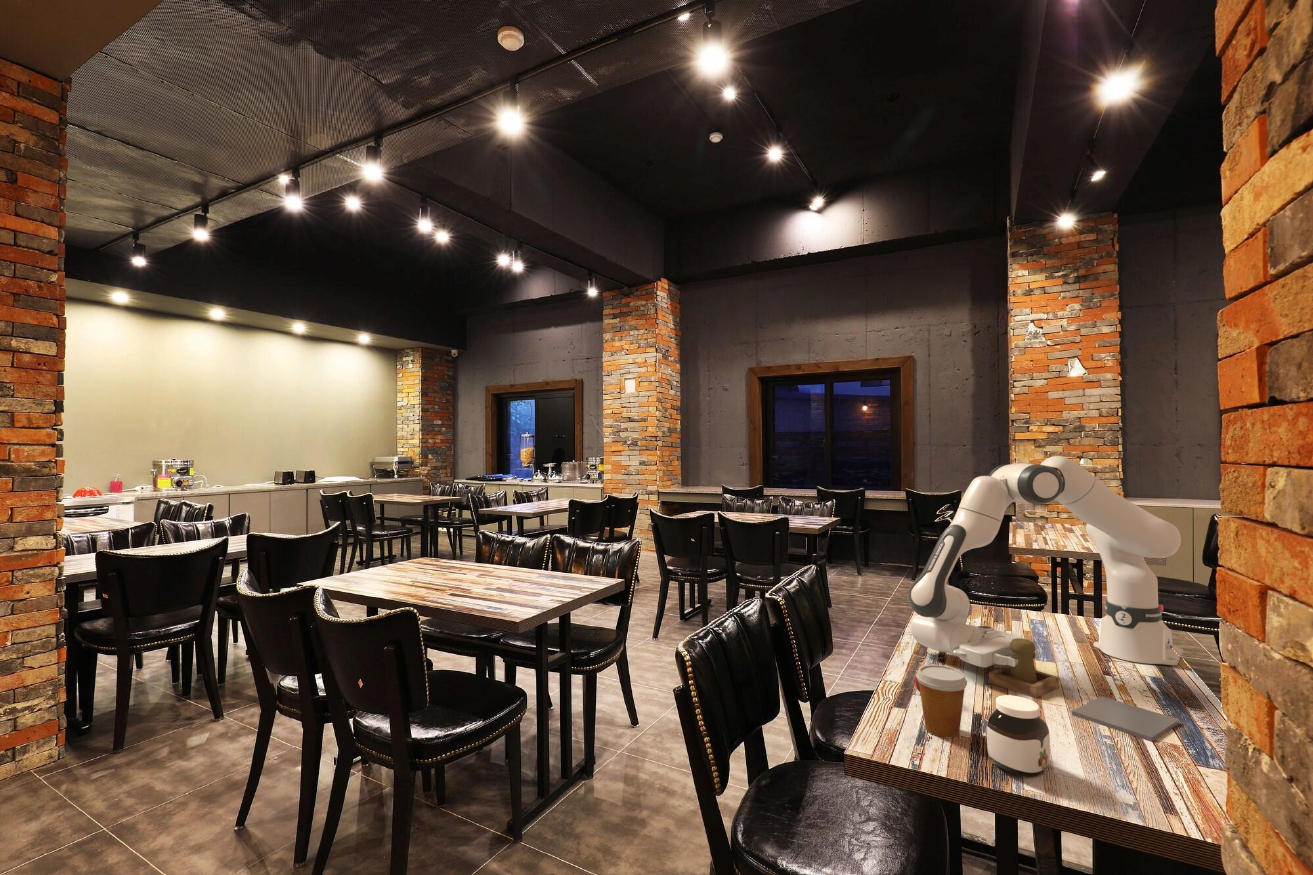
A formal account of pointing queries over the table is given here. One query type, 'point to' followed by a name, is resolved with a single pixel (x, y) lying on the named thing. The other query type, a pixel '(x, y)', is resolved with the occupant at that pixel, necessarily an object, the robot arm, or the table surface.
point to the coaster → (1126, 718)
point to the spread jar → (1018, 737)
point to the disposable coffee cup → (941, 699)
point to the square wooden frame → (1034, 690)
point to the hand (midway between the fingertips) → (1026, 658)
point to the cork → (1023, 660)
